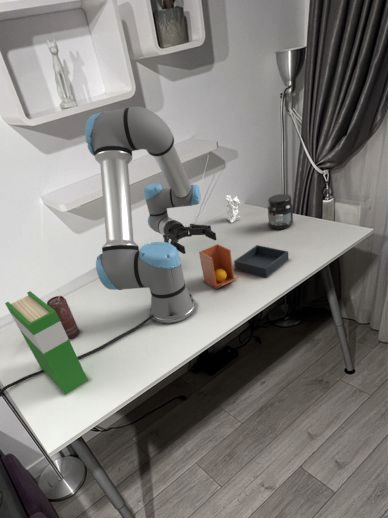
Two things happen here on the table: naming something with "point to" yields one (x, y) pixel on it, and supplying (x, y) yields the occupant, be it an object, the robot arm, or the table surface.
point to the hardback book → (48, 341)
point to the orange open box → (216, 265)
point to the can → (64, 316)
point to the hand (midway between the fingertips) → (199, 243)
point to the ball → (220, 275)
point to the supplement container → (280, 211)
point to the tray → (261, 261)
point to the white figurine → (232, 208)
